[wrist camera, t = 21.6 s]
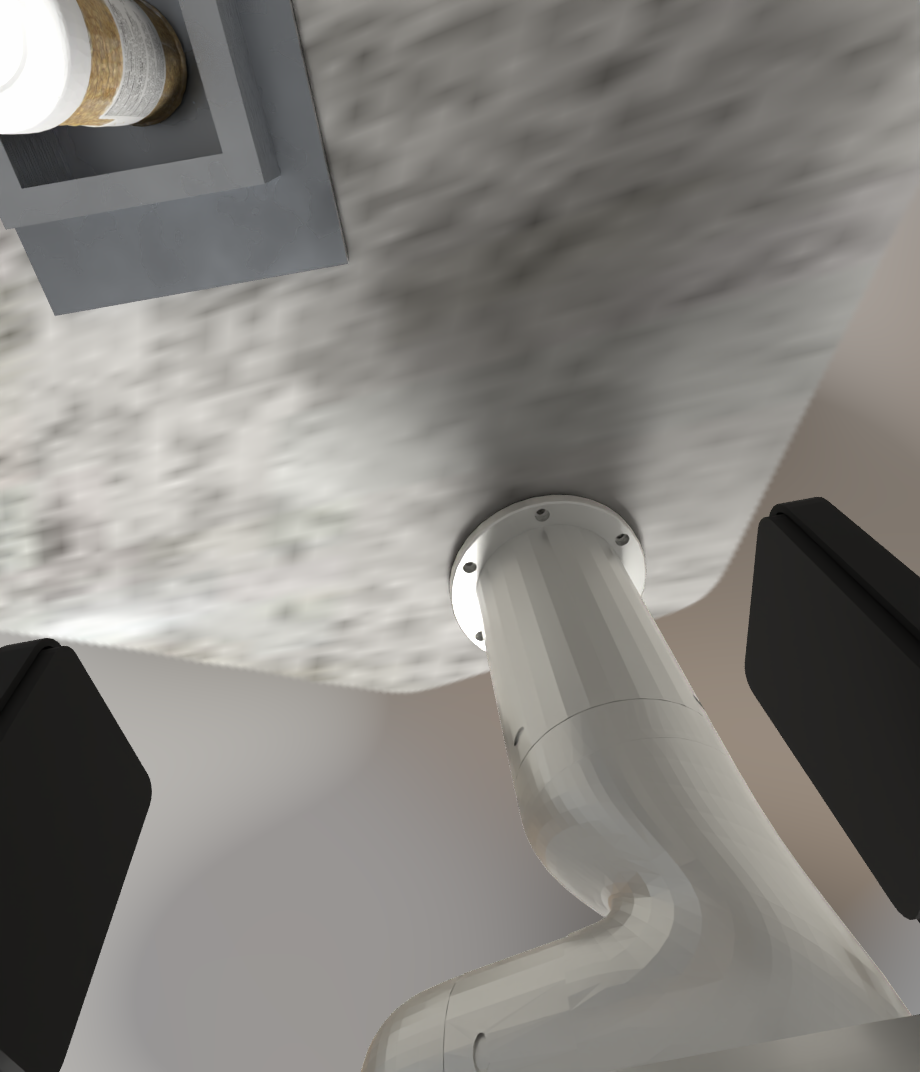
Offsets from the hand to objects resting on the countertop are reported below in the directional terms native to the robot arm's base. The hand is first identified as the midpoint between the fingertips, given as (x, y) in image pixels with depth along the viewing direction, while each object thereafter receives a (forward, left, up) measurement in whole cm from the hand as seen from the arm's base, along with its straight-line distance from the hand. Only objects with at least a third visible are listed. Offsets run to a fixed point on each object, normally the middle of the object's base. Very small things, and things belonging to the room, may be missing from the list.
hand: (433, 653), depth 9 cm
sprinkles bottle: (+10, +9, -28) cm, 30 cm away
